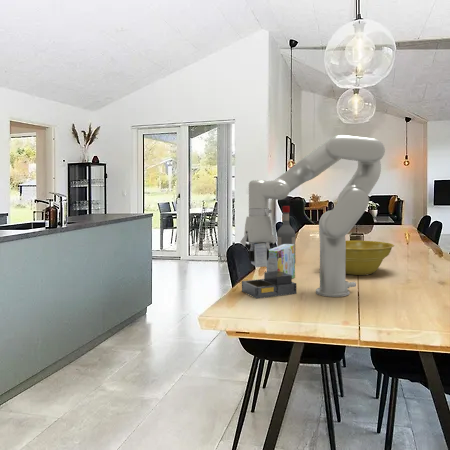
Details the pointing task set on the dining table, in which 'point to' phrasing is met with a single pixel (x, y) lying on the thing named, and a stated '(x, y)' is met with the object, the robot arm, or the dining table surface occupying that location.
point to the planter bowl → (365, 256)
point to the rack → (270, 285)
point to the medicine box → (260, 255)
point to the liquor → (286, 230)
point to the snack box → (282, 259)
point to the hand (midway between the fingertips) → (258, 259)
